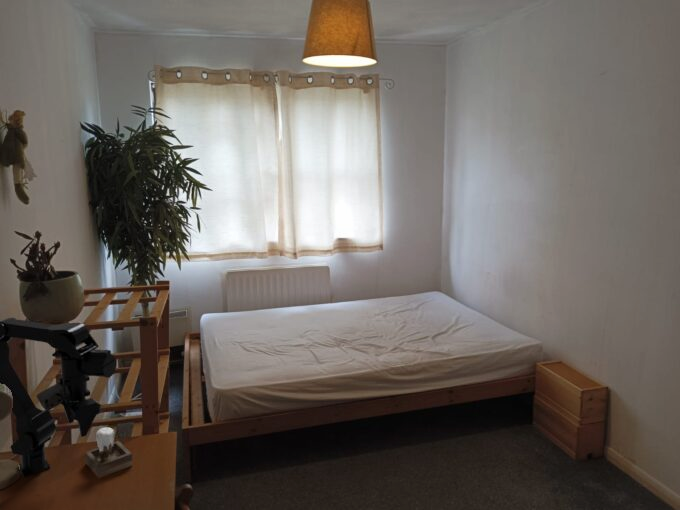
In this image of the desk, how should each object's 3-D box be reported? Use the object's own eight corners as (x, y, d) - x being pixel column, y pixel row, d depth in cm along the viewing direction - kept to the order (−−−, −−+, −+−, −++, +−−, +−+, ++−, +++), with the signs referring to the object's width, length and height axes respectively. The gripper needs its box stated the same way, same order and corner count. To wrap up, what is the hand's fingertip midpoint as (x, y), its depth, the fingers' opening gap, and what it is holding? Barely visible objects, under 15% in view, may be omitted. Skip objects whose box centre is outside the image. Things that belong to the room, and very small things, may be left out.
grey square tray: (86, 463, 146) (85, 451, 146) (118, 451, 153) (118, 440, 152) (98, 478, 140) (98, 466, 139) (132, 465, 146) (131, 453, 146)
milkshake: (110, 466, 143) (109, 432, 141) (93, 463, 144) (91, 429, 142) (121, 457, 147) (120, 424, 145) (104, 454, 148) (102, 421, 147)
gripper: (28, 369, 137) (32, 425, 140) (51, 394, 124) (55, 455, 127) (73, 359, 145) (77, 412, 148) (100, 381, 132) (103, 439, 135)
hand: (77, 429), depth 139 cm, fingers open, 9 cm apart
